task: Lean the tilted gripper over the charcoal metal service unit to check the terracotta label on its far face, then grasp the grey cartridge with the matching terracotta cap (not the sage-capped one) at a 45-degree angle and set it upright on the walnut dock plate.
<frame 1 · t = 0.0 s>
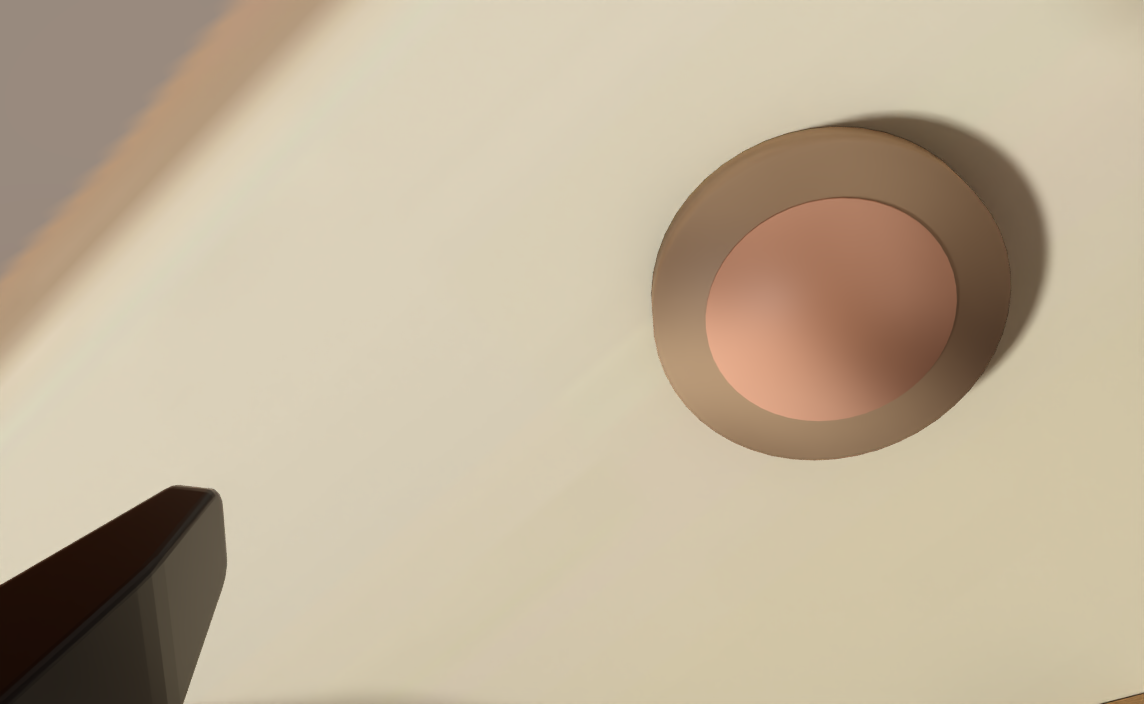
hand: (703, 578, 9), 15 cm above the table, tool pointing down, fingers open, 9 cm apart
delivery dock: (819, 292, 24), on the table
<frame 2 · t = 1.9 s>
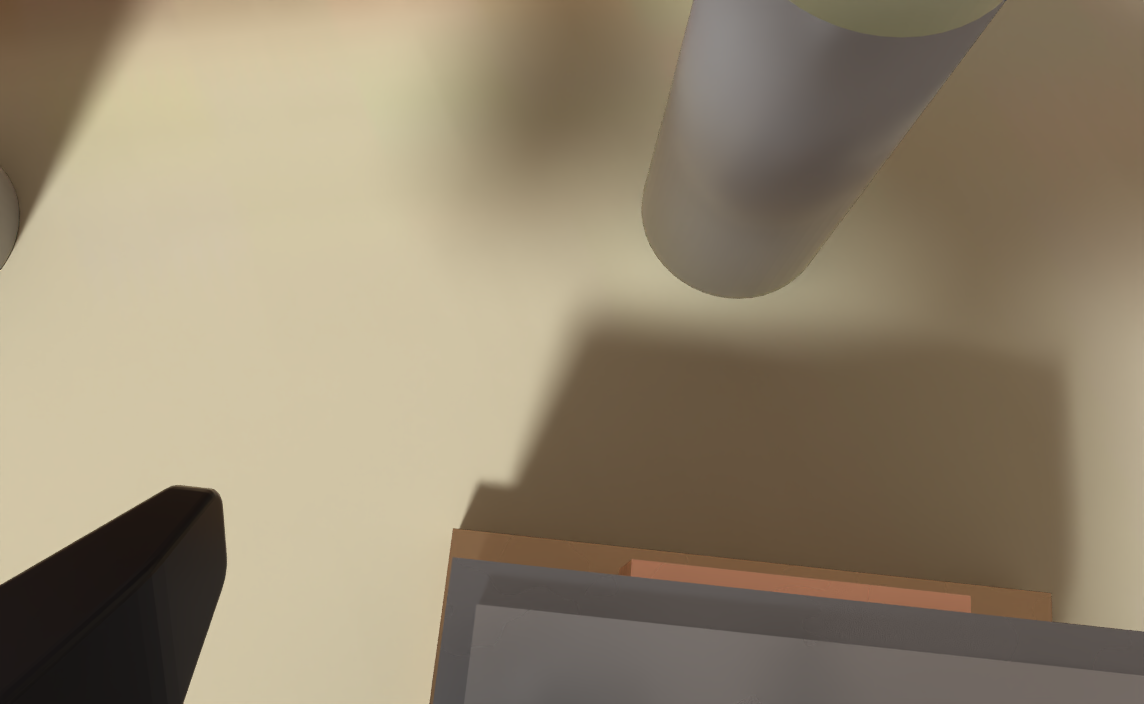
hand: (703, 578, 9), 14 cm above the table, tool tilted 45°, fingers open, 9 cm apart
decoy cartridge: (732, 212, 25), on the table
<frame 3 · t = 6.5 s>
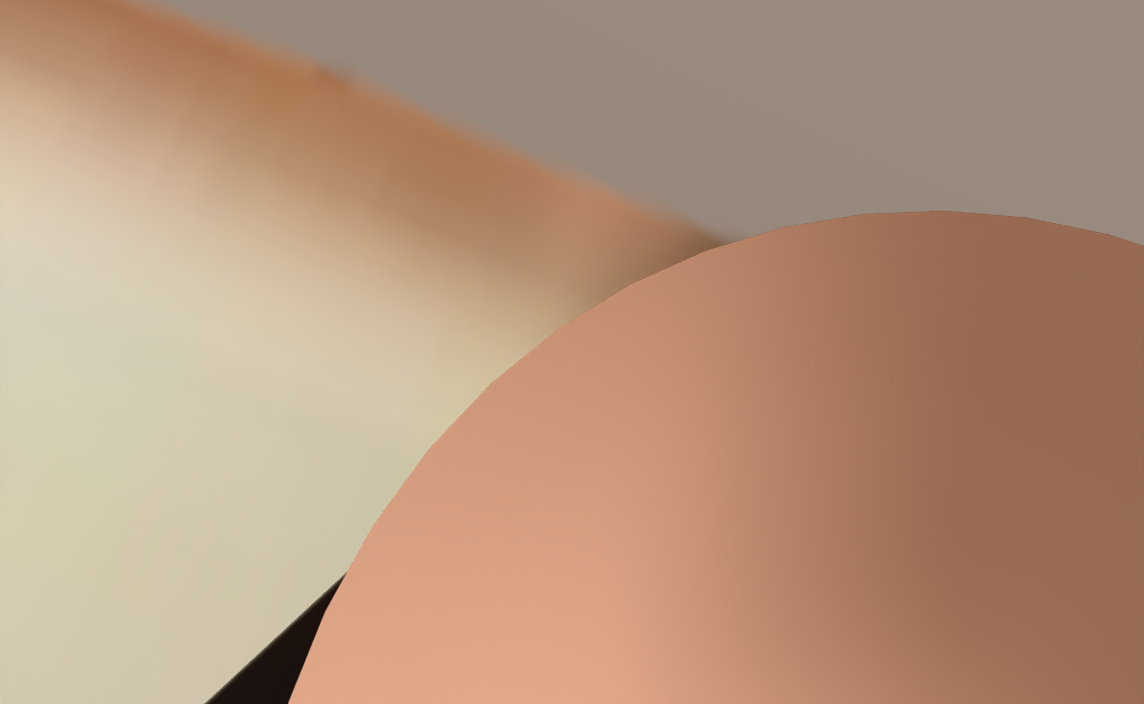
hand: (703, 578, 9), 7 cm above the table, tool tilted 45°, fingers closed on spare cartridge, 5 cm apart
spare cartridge: (620, 699, 15), on the table, touching gripper
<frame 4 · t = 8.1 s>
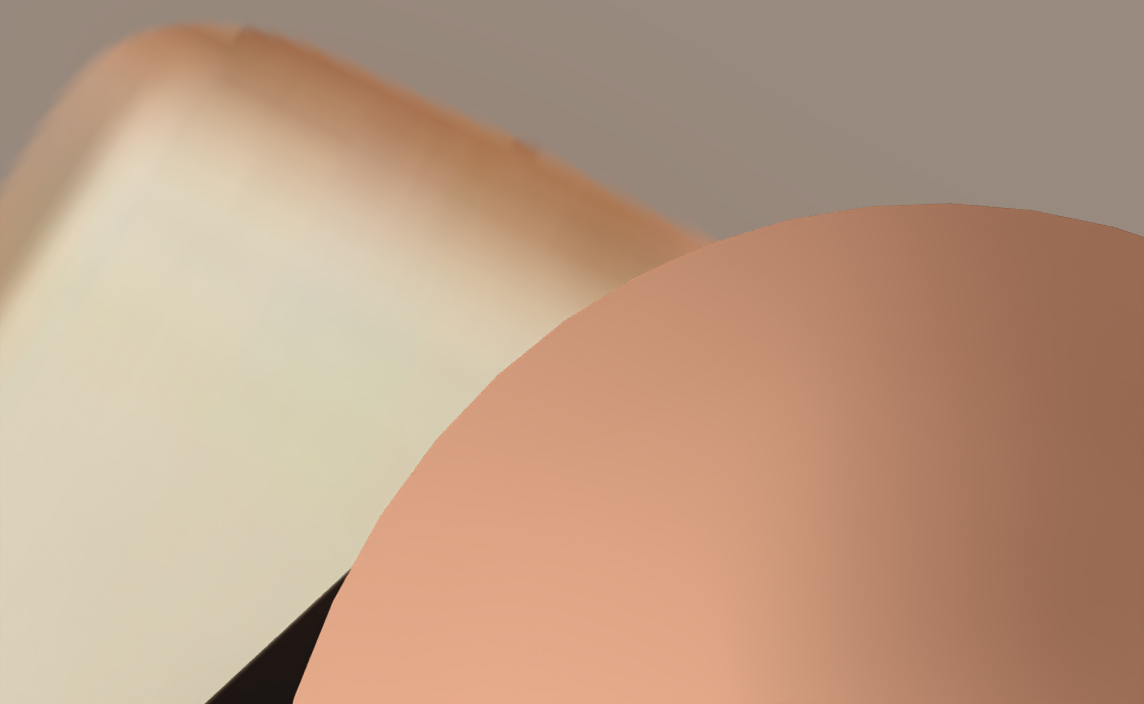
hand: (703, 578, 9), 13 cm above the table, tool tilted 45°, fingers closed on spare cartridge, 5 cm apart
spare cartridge: (622, 697, 15), point 7 cm above the table, touching gripper
when the fingers open (9 cm above the table, at t = 10.1 s): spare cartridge drops 1 cm, resting on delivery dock.
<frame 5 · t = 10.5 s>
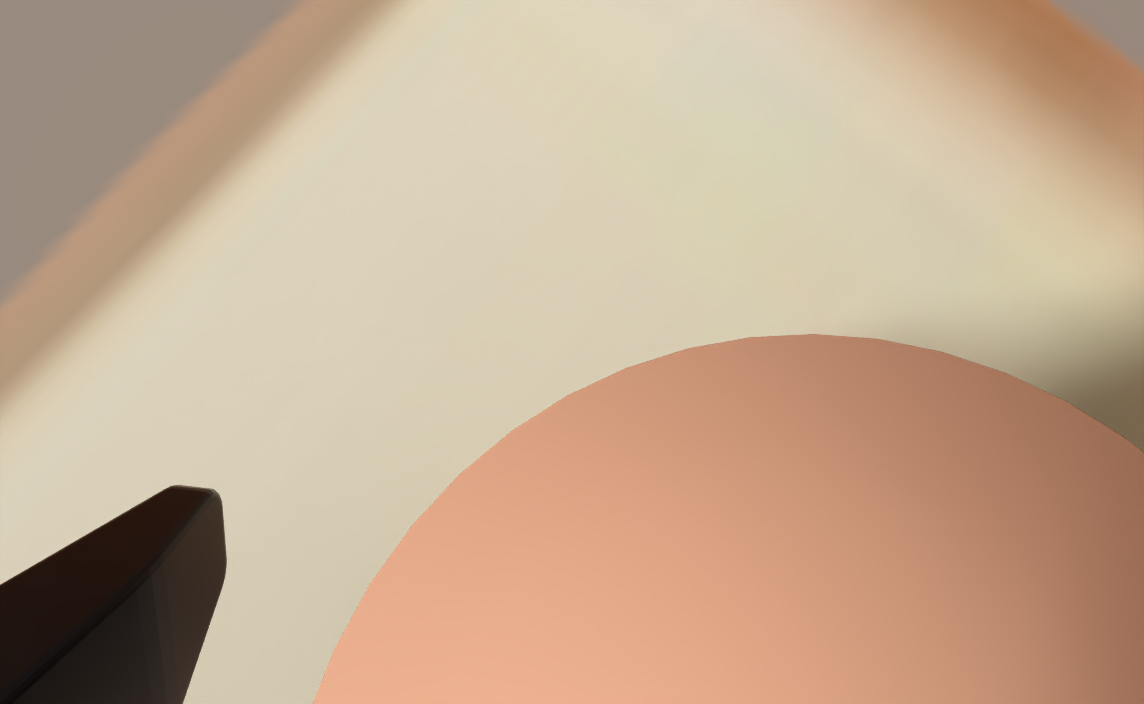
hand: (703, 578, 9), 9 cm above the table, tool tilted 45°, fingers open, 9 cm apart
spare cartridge: (614, 698, 17), point 1 cm above the table, touching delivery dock
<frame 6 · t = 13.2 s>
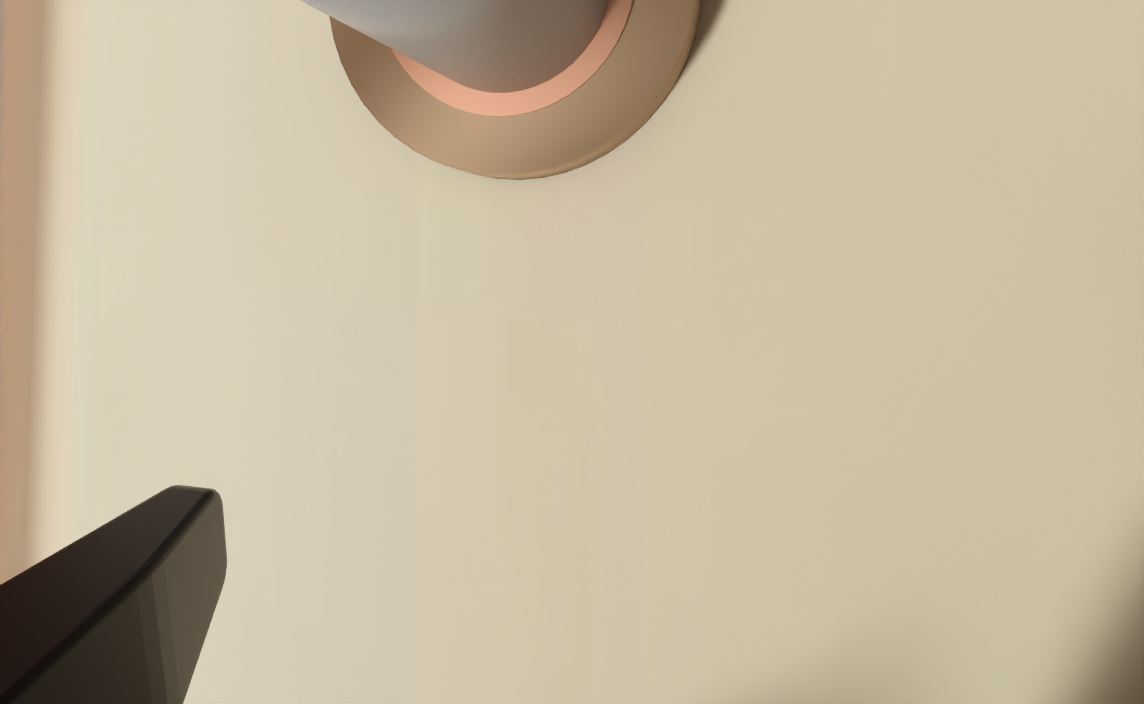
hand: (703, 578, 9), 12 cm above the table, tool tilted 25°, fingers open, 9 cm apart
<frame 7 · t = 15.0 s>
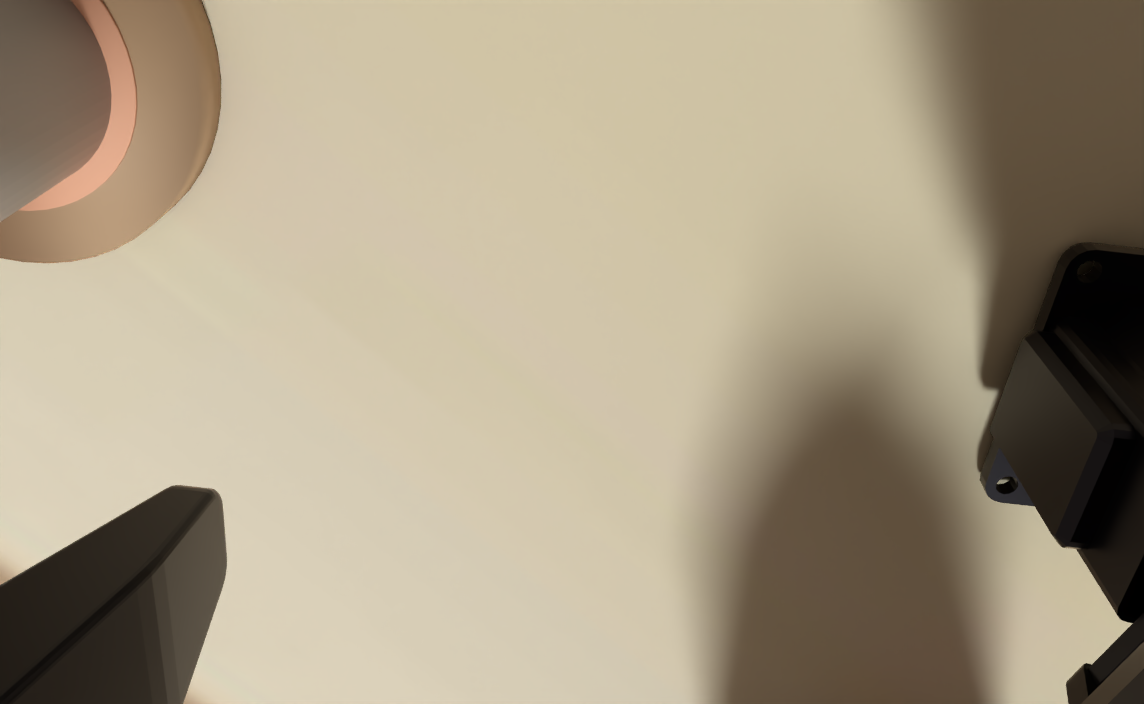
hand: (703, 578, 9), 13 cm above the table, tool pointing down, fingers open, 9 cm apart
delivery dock: (23, 57, 20), on the table
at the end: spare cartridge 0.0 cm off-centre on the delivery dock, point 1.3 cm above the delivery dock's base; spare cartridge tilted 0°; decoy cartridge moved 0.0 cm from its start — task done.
